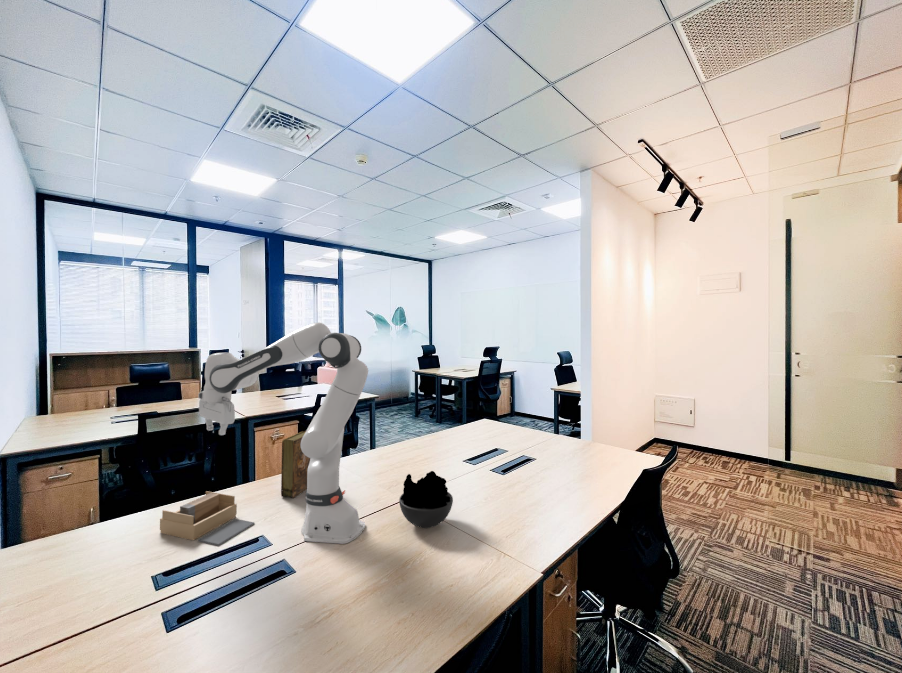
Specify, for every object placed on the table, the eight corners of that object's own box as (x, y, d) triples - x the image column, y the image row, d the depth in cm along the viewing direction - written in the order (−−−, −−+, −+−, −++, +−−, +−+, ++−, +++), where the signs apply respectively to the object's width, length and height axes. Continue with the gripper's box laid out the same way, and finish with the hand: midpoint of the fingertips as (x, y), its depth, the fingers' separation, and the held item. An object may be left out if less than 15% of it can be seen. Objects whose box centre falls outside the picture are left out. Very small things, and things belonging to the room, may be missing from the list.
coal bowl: (460, 518, 144) (461, 470, 144) (437, 544, 125) (438, 489, 125) (416, 507, 152) (416, 462, 152) (388, 530, 134) (389, 479, 134)
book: (303, 483, 175) (304, 430, 175) (314, 484, 174) (314, 431, 174) (281, 498, 159) (281, 440, 159) (292, 499, 158) (293, 440, 158)
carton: (236, 517, 142) (236, 496, 142) (194, 540, 126) (194, 517, 126) (204, 510, 147) (205, 490, 147) (159, 532, 130) (160, 510, 130)
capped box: (218, 517, 141) (218, 494, 141) (188, 533, 130) (188, 508, 130) (210, 516, 142) (210, 492, 142) (179, 531, 131) (180, 506, 131)
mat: (254, 524, 137) (254, 522, 137) (218, 545, 123) (218, 544, 123) (235, 520, 140) (235, 518, 140) (197, 541, 125) (197, 539, 125)
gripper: (240, 398, 136) (238, 435, 136) (214, 391, 147) (212, 426, 147) (222, 400, 130) (220, 439, 130) (196, 393, 142) (194, 429, 142)
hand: (215, 432), depth 139 cm, fingers open, 8 cm apart
